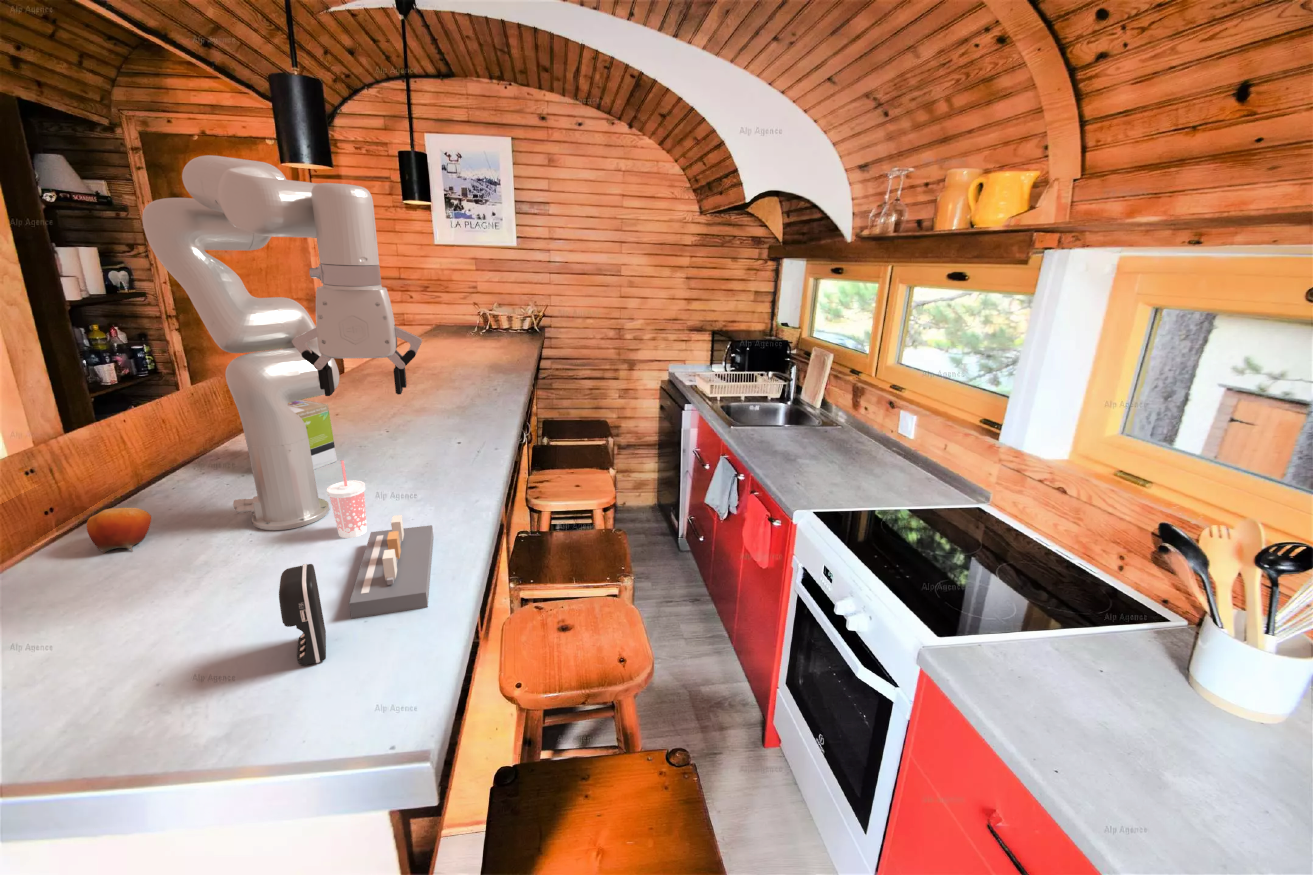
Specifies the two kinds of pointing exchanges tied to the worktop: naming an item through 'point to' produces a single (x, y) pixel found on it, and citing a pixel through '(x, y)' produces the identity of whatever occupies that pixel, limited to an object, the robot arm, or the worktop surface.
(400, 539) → the switch paddles
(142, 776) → the worktop surface
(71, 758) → the worktop surface
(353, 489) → the beverage cup
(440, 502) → the worktop surface
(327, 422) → the tea box
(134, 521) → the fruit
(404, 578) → the switch panel
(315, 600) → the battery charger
